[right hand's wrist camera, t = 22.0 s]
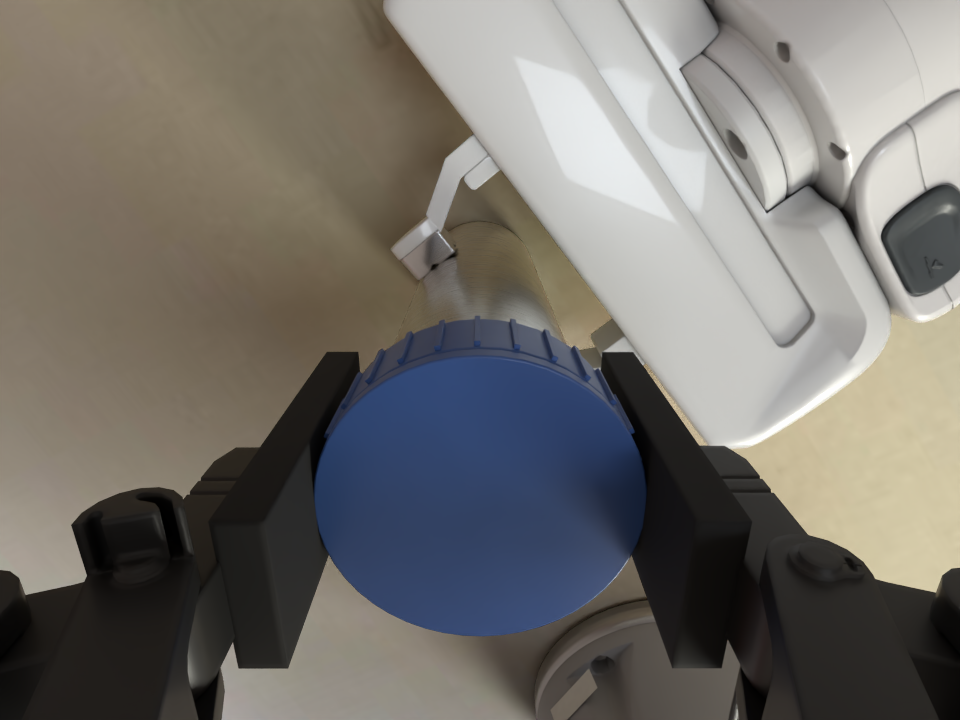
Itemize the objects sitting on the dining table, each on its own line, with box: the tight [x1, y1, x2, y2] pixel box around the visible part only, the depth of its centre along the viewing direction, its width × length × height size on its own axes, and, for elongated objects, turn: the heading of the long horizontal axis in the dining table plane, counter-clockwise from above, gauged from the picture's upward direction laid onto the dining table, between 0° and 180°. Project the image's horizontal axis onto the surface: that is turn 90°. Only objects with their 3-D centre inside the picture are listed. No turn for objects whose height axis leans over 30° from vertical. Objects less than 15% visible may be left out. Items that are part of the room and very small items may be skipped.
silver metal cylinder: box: [394, 221, 566, 344], centre depth 19 cm, size 5×5×18 cm
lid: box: [314, 316, 647, 636], centre depth 11 cm, size 6×6×2 cm
